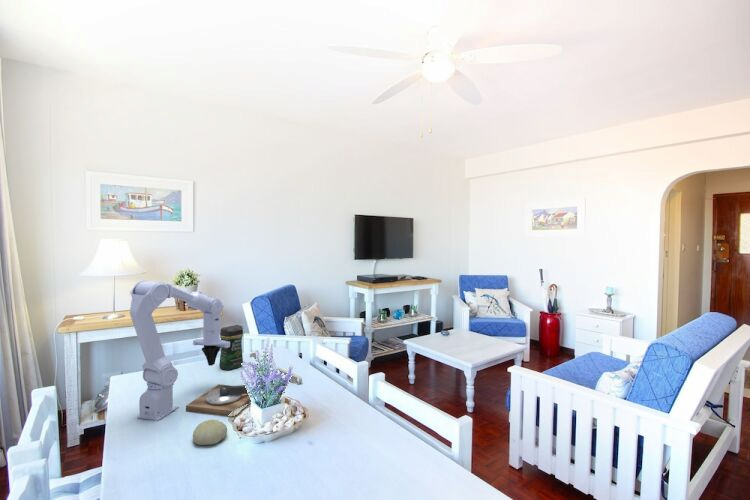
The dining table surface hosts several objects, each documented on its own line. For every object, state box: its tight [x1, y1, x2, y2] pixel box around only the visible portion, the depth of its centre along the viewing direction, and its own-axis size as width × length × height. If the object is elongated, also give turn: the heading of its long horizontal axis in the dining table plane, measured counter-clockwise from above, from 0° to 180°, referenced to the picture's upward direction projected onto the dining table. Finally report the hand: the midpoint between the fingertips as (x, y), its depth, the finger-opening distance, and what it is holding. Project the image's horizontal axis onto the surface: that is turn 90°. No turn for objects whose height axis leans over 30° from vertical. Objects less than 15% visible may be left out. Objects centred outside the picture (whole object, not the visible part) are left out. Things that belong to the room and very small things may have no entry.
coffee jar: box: [219, 324, 244, 371], centre depth 163 cm, size 10×8×19 cm
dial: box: [206, 384, 248, 405], centre depth 128 cm, size 14×12×4 cm
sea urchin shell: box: [192, 419, 228, 446], centre depth 106 cm, size 9×8×8 cm
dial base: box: [185, 383, 251, 417], centre depth 129 cm, size 18×18×2 cm
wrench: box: [249, 351, 303, 385], centre depth 154 cm, size 8×2×30 cm
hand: (211, 364), depth 140 cm, fingers closed
